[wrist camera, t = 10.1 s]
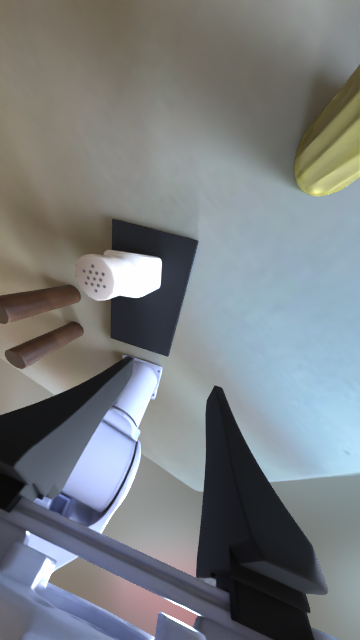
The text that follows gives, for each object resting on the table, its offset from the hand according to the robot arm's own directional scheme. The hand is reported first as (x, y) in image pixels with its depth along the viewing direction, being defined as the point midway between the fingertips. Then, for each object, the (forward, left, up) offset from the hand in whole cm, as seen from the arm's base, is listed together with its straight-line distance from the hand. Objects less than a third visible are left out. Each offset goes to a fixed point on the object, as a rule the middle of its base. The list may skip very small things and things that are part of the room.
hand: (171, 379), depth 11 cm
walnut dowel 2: (-7, +20, -10) cm, 24 cm away
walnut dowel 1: (0, +20, -10) cm, 23 cm away
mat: (+3, +7, -10) cm, 13 cm away
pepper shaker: (+7, +7, -10) cm, 14 cm away
